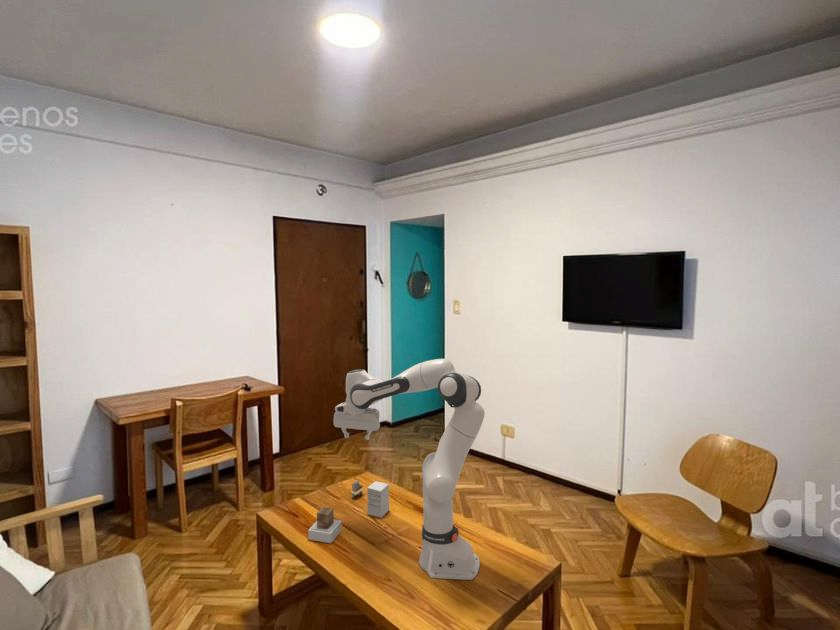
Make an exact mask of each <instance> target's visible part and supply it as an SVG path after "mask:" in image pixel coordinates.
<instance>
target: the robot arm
mask: <svg viewBox="0 0 840 630" xmlns="http://www.w3.org/2000/svg"><path fill="white" fill-rule="evenodd" d="M433 389H437V391H438V393H439V395H440V396H441V397H440V398H442V399H443V400H444V401H445V402H446V403H447V404H448V405H449V407H450V408H453V409H454V412H453V414H452V415H451V418H450V420H449V422H448V423H447V426H446V428H445V430H443V431H444V432H443V434H442V435H441V437H440V438H439V442H438V446H437V448H436V451H434V452H430V453H429V454H427V455H426V456H425V457H424V460H423V462H422V463H423V464H422V469H421V471H422V473H421V474H422V504H423V505H422V506H423V510H422V512H423V515H422V516H423V519H422V520H423V524H422V525H421V526H422V527H421V540H422V547H421V551H420V556H419V559H418V564H419V566H420V568H421V569H423V570H424V571H425V572H426V573H427V575H428V576H429V578H430V579H441V580H442V579H446V580H463V581H465V580H466V581H468V580H469V581H472V580H473V579H475V578H476V577H477V575H478V573H479V571H480V566H481V565H480V564H481V563H480V557H479V556H478V555H477V554H476V553H474V550H473V547H472V544H471V543H470V542H469V541H467V540H465V539H464V538H463V537H462V536H461V535H459V529H460V528H459V525H457V527H456V526H455V524H454V502H453V501H454V500H453V498H454V495H455V493H456V487H457V484H458V481H459V478H460V476H461V472H462V470H463V467H464V464H465V460H466V459H467V456H468V453H469V451H470V450H471V448H472V446H473V444H474V441H476V438H477V436H478V434H479V432H480V430H481V427H482V425H483V422H484V418H485V410H484V408H483V406H482V405H480V404H479V402H477V401H478V400H479V398H480V397H481V395H482V386H481V383H480V382H479V381H478V380H477V379H476V378H474V377H473V376H470V375H468V374H464V373H460V372H459V373H457V372H456V370H455V367H454V364H453V362H451V360H449V359H448V358H436V359H430V360H426V361H425V360H424V361H423V362H419V363H417V364H415V365H412V366H411V367H409V368H407V369H405V370H404V371H402V372H401V373H399V374H397V375H395V376H394V377H393V378H390V379H387V380H383V379H381V378H378V377H376V376H373V375H371V374H370V373H368V372H367V371H366V370H365V369H363V368H358V369H353V370H350V371H348V372H347V374H346V376H345V394H346V398H345V401H344V402H341V403H340V404H337V405H336V406H335V407H334V411H335V412H334V414H333V426H334V428H339V429H340V428H341V431H342V433H343V434H344V435H343V436H344V438H345V439H348V438H349V437H350V432H348V431H347V429H349V430H350V429H353V430H361V431H366V433H367V434H366V435H364V441H369V440H370V435H371V434H372V432H377V431H379V428H380V427H381V421H380V410H378V409H377V408H372V407H371V408H370V406H372V405H374V404H376V403H378V402H380V401H382V400H383V399H386V398H390V397H394V396H397V395H401V394H410V393H420V392H426V391H429V390H430V391H431V390H433Z"/></svg>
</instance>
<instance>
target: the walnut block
mask: <svg viewBox="0 0 840 630" xmlns="http://www.w3.org/2000/svg"><path fill="white" fill-rule="evenodd" d="M334 515H335V514H334V508H333V507H325V506H322V507H321V508H320V509H319V510H318V511H317V512H316V521H317V527H320V528H326V529H328V528H329V527H330V526H331V525H332V524H333V523H334V520H335V518H334Z"/></svg>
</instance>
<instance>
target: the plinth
mask: <svg viewBox="0 0 840 630" xmlns="http://www.w3.org/2000/svg"><path fill="white" fill-rule="evenodd" d="M342 522H343V520H339V519H334V523H333V524H332V525H331V526H330V527H329V528H328V529H326V528H320V527H317V520H316V521H315V522H314V523H313V524H312V525H311V527H309V529H308V530H307V532H308V533H307V534H308V540H309V541H310V540H311V541H314V542H320V543H327V544H332V542H334V541H335V539H336V538H337V537H338V536H339V534H340V533H341V531H342V528H343V527H342V525H343V523H342Z"/></svg>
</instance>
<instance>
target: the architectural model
mask: <svg viewBox="0 0 840 630" xmlns="http://www.w3.org/2000/svg"><path fill="white" fill-rule="evenodd" d="M364 490H365V487H363V484H360V479H358V480H357V479H356V480H355V481H354V482H353V483H351V492H350V494H351V498H352V499H353V498H355V496H357V495H358V496H361V495H363V492H364Z"/></svg>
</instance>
